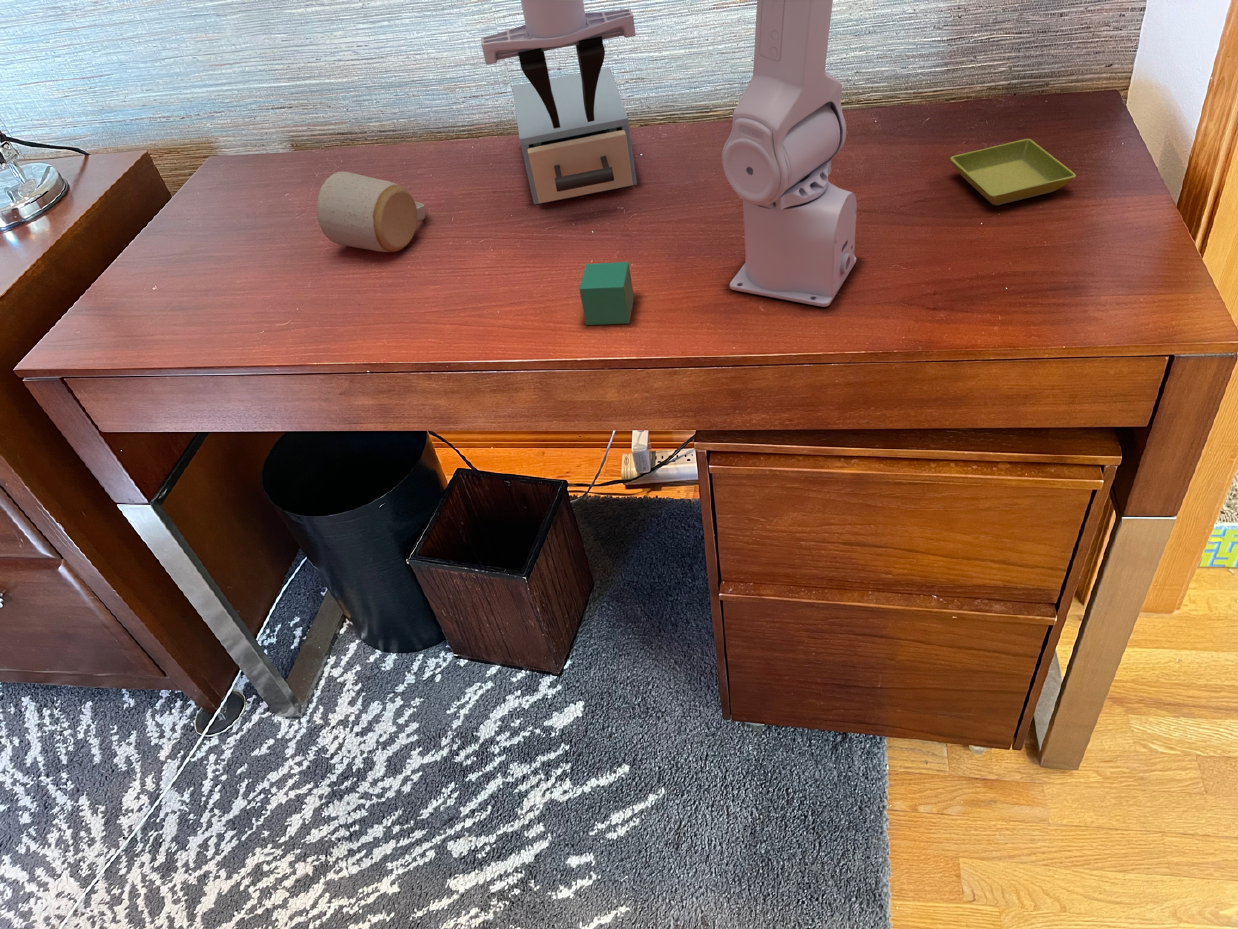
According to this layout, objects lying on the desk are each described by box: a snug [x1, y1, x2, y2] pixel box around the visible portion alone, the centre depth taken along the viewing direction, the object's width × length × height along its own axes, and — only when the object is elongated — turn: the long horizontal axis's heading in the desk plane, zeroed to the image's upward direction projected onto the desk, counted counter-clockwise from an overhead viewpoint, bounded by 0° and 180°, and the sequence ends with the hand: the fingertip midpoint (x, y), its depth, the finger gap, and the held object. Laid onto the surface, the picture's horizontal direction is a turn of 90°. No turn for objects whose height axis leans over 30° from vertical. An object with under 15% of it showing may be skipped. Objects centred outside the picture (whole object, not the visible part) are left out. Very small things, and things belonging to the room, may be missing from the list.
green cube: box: [578, 261, 635, 326], centre depth 81 cm, size 4×4×4 cm
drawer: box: [527, 128, 634, 204], centre depth 99 cm, size 18×10×6 cm, turn 8°
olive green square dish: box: [949, 138, 1077, 207], centre depth 88 cm, size 9×9×2 cm
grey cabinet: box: [511, 67, 638, 205], centre depth 102 cm, size 15×12×8 cm
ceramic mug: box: [316, 170, 426, 253], centre depth 96 cm, size 11×8×8 cm
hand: (573, 120), depth 91 cm, fingers open, 3 cm apart
